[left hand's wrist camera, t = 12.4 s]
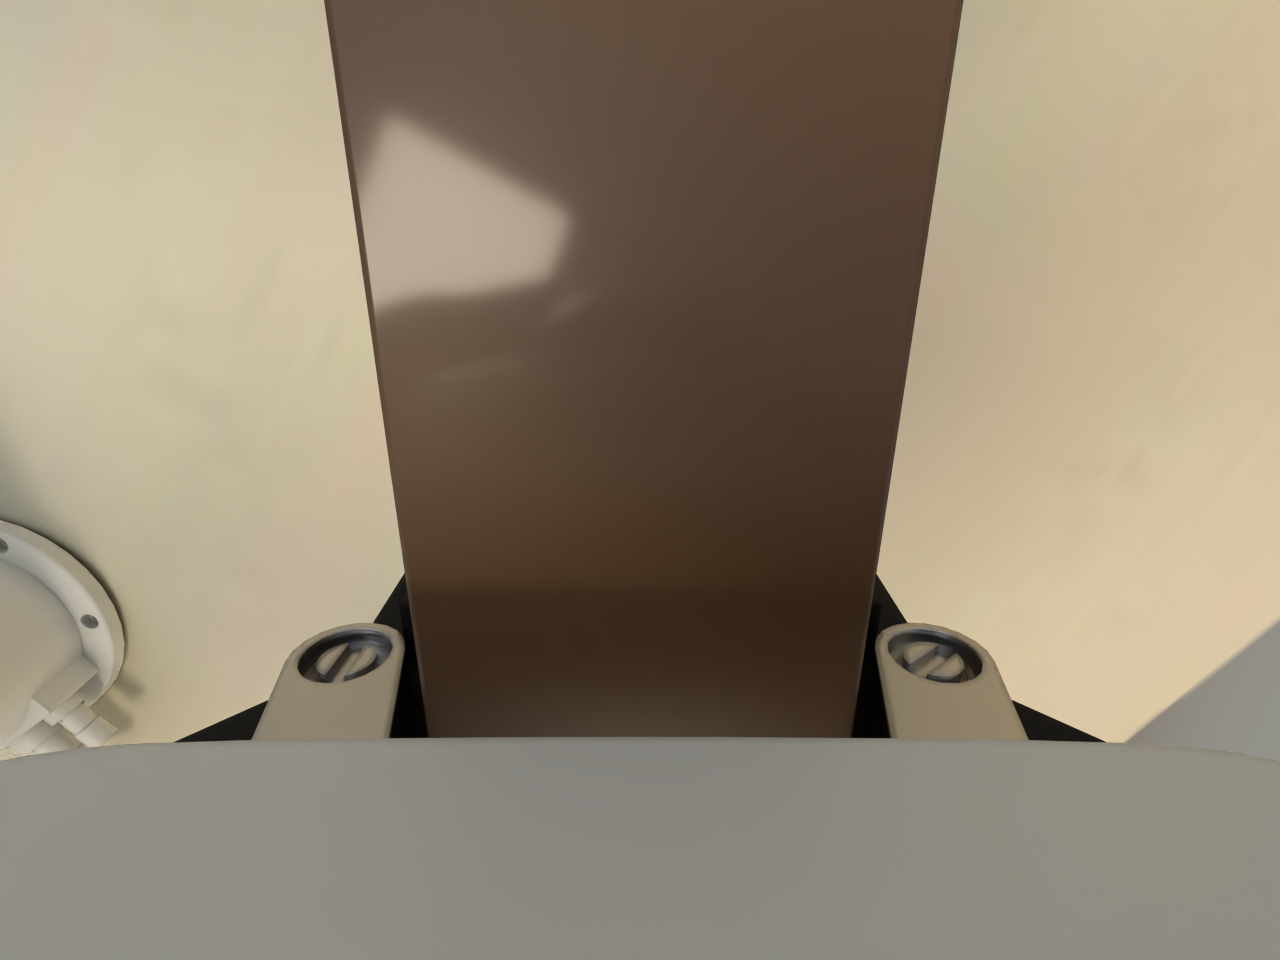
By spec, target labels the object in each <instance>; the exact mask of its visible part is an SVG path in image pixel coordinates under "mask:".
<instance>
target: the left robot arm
mask: <svg viewBox="0 0 1280 960" xmlns="http://www.w3.org/2000/svg"><path fill="white" fill-rule="evenodd" d="M124 645H125V643H124V637H123V631H122V625H121V622H120V620H119V617H118V615H117V612H116V610H115V607H114V605H113V603H112V602H111V600H110V599H109V597H108V595H107V594H106V592H105V590H104V589H103V587H102V586H101V585H100V584H99V582H98V581H97V580H96V579H95V578H94V577H93V576H92V574H91V573H90V572H89V571H88V570H87V569H86V568H85V567H84V566H83V565H82V564H81V563H79V562H78V561H77V560H76V559H75V558H74V557H72V556H71V555H70V554H69V553H68V552H66V551H65V550H63V549H62V548H60V547H59V546H57V545H55V544H54V543H52V542H51V541H49V540H48V539H46V538H44V537H42V536H40V535H38V534H36V533H34V532H32V531H30V530H27V529H25V528H23V527H21V526H18V525H14V524H11V523H8V522H5V521H2V520H0V751H1V750H2V749H4V748H5V747H6V748H8V749H10V750H11V751H13V752H14V753H15V754H17V755H18V756H20V757H19V758H14V759H9V760H4V761H0V960H1280V761H1276V760H1271V759H1266V758H1261V757H1255V756H1250V755H1245V754H1240V753H1232V752H1225V751H1217V750H1209V749H1200V748H1192V747H1179V746H1166V745H1153V744H1133V743H1108V742H1105V741H1103V740H1100V739H1098V738H1096V737H1094V736H1091V735H1089V734H1087V733H1085V732H1082V731H1080V730H1078V729H1076V728H1073V727H1071V726H1069V725H1067V724H1065V723H1062V722H1060V721H1058V720H1056V719H1053V718H1051V717H1049V716H1047V715H1044V714H1042V713H1040V712H1038V711H1035V710H1033V709H1031V708H1029V707H1026V706H1024V705H1022V704H1020V703H1017V702H1015V701H1013V700H1011V698H1010V696H1009V693H1008V691H1007V689H1006V686H1005V684H1004V682H1003V680H1002V677H1001V675H1000V673H999V670H998V668H997V666H996V663H995V661H994V660H993V659H992V657H991V656H990V654H989V653H988V651H987V650H985V649H984V648H983V647H982V646H981V645H979V644H978V643H977V642H976V641H974V640H972V639H970V638H968V637H967V636H965V635H963V634H961V633H959V632H956V631H953V630H950V629H947V628H944V627H941V626H936V625H930V624H925V623H907V622H906V620H905V618H904V617H903V615H902V614H901V612H900V610H899V609H898V607H897V606H896V604H895V603H894V601H893V599H892V598H891V596H890V595H889V593H888V592H887V590H886V588H885V587H884V585H883V584H882V582H881V581H880V579H879V577H878V576H877V574H876V578H875V585H874V591H873V598H872V605H871V611H870V618H869V624H868V631H867V637H866V644H865V651H864V657H863V664H862V670H861V677H860V683H859V690H858V697H857V703H856V710H855V716H854V723H853V729H852V736H851V738H785V737H471V738H428V733H427V726H426V719H425V712H424V705H423V698H422V690H421V683H420V676H419V669H418V662H417V655H416V648H415V641H414V634H413V627H412V620H411V612H410V605H409V598H408V591H407V584H406V577H405V573H404V575H403V577H402V578H401V580H400V581H399V583H398V584H397V586H396V588H395V589H394V591H393V592H392V594H391V595H390V597H389V599H388V600H387V602H386V603H385V605H384V606H383V608H382V610H381V611H380V613H379V614H378V616H377V618H376V619H375V621H374V622H373V623H355V624H350V625H344V626H339V627H336V628H333V629H330V630H327V631H324V632H321V633H319V634H317V635H315V636H313V637H312V638H310V639H308V640H306V641H304V642H303V643H302V644H301V645H299V646H298V647H297V648H296V649H295V650H293V651H292V653H291V654H290V656H289V657H288V659H287V660H286V661H285V663H284V666H283V668H282V670H281V673H280V675H279V677H278V680H277V682H276V684H275V686H274V689H273V691H272V693H271V696H270V698H269V700H267V701H265V702H263V703H261V704H258V705H256V706H254V707H252V708H250V709H247V710H245V711H243V712H241V713H238V714H236V715H234V716H232V717H229V718H227V719H225V720H223V721H220V722H218V723H216V724H214V725H211V726H209V727H207V728H205V729H202V730H200V731H198V732H196V733H194V734H191V735H189V736H187V737H185V738H182V739H180V740H178V741H176V742H173V743H146V744H127V745H114V746H102V745H103V744H104V743H105V742H106V741H108V740H109V739H110V738H111V737H112V736H113V735H114V734H115V733H116V732H117V730H118V729H116V728H115V727H114V726H113V725H111V724H110V723H109V722H108V721H106V720H105V719H104V718H103V717H101V716H100V715H96V714H95V713H94V712H93V711H91V710H90V709H89V708H88V707H89V706H91V705H92V704H93V703H94V702H96V701H97V700H98V699H99V698H100V697H101V696H102V695H103V694H104V693H105V692H106V691H107V690H108V689H109V688H110V687H111V685H112V684H113V682H114V681H115V680H116V678H117V677H118V674H119V672H120V669H121V666H122V663H123V658H124ZM100 746H102V747H100ZM29 753H30V754H32V755H29V756H26V755H27V754H29Z"/></svg>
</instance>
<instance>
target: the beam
mask: <svg viewBox="0 0 1280 960" xmlns="http://www.w3.org/2000/svg"><path fill="white" fill-rule="evenodd" d="M324 3H325V10H326V17H327V24H328V31H329V38H330V45H331V52H332V59H333V66H334V73H335V81H336V88H337V95H338V102H339V109H340V116H341V123H342V130H343V137H344V144H345V151H346V159H347V166H348V173H349V180H350V187H351V194H352V201H353V208H354V215H355V222H356V229H357V237H358V244H359V251H360V258H361V265H362V272H363V279H364V286H365V293H366V300H367V307H368V315H369V322H370V329H371V336H372V343H373V350H374V357H375V364H376V371H377V378H378V385H379V393H380V400H381V407H382V414H383V421H384V428H385V435H386V442H387V449H388V456H389V463H390V471H391V478H392V485H393V492H394V499H395V506H396V513H397V520H398V527H399V534H400V541H401V549H402V556H403V563H404V570H405V577H406V584H407V591H408V598H409V605H410V612H411V620H412V627H413V634H414V641H415V648H416V655H417V662H418V669H419V676H420V683H421V690H422V698H423V705H424V712H425V719H426V726H427V733H428V738H471V737H785V738H851V736H852V729H853V723H854V716H855V710H856V703H857V697H858V690H859V683H860V677H861V670H862V664H863V657H864V651H865V644H866V637H867V631H868V624H869V618H870V611H871V605H872V598H873V591H874V585H875V578H876V572H877V565H878V559H879V552H880V545H881V539H882V532H883V526H884V519H885V513H886V506H887V499H888V493H889V486H890V480H891V473H892V466H893V460H894V453H895V447H896V440H897V434H898V427H899V420H900V414H901V407H902V401H903V394H904V388H905V381H906V374H907V368H908V361H909V355H910V348H911V342H912V335H913V328H914V322H915V315H916V309H917V302H918V296H919V289H920V282H921V276H922V269H923V263H924V256H925V250H926V243H927V236H928V230H929V223H930V217H931V210H932V204H933V197H934V190H935V184H936V177H937V171H938V164H939V158H940V151H941V144H942V138H943V131H944V125H945V118H946V111H947V105H948V98H949V92H950V85H951V79H952V72H953V65H954V59H955V52H956V46H957V39H958V33H959V26H960V19H961V13H962V6H963V0H324Z"/></svg>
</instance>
